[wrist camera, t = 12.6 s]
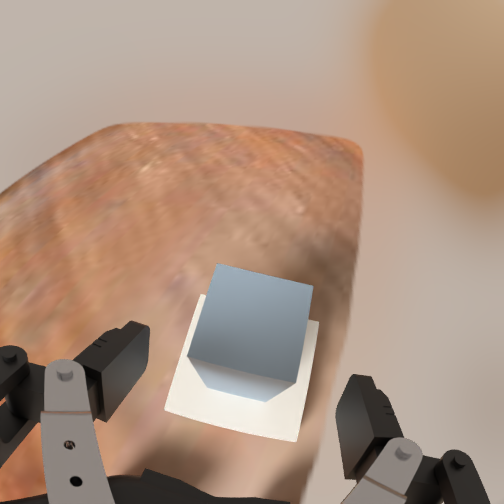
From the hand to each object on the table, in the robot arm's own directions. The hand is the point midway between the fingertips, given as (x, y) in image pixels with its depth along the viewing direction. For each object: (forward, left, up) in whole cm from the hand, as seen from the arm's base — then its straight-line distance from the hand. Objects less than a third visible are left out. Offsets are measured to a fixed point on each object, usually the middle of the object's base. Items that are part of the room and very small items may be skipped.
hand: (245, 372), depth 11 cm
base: (+1, +2, -12) cm, 12 cm away
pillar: (0, +2, -9) cm, 9 cm away
